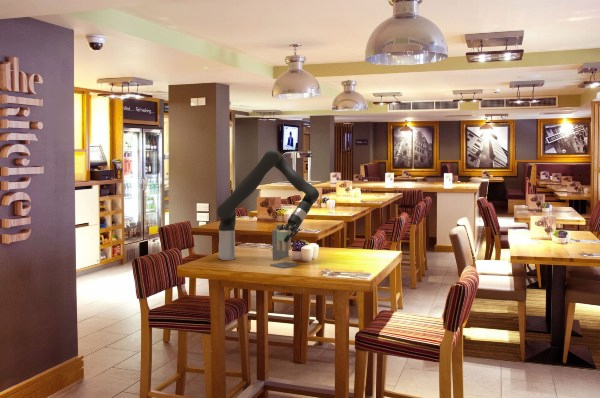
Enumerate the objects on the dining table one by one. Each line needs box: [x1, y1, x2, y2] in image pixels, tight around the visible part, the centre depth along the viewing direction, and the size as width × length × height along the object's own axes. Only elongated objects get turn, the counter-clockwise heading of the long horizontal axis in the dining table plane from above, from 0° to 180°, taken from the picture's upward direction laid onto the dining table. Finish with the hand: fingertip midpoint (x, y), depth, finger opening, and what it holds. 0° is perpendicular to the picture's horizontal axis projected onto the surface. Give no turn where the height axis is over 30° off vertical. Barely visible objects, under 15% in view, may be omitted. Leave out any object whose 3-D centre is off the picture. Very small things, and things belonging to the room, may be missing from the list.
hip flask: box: [271, 224, 290, 261], centre depth 368 cm, size 16×4×20 cm, turn 152°
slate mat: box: [269, 261, 299, 269], centre depth 344 cm, size 11×11×1 cm
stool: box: [277, 230, 292, 251], centre depth 343 cm, size 6×6×11 cm
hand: (281, 240), depth 342 cm, fingers closed on stool, 5 cm apart
